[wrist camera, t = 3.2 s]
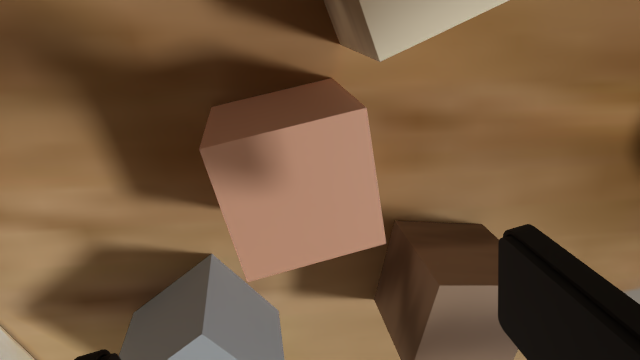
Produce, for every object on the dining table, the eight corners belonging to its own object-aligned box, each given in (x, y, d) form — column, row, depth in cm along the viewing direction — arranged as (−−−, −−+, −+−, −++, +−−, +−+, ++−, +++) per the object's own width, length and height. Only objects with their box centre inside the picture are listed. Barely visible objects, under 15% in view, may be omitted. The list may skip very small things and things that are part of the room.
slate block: (134, 311, 23) (100, 408, 17) (211, 252, 22) (201, 334, 17) (206, 361, 25) (197, 458, 20) (278, 309, 25) (288, 396, 19)
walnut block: (394, 220, 23) (439, 285, 18) (481, 223, 25) (548, 285, 19) (373, 298, 26) (408, 377, 20) (454, 298, 27) (507, 371, 22)
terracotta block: (211, 106, 19) (199, 149, 13) (331, 77, 19) (366, 107, 14) (245, 211, 21) (247, 282, 16) (350, 183, 22) (386, 243, 16)
